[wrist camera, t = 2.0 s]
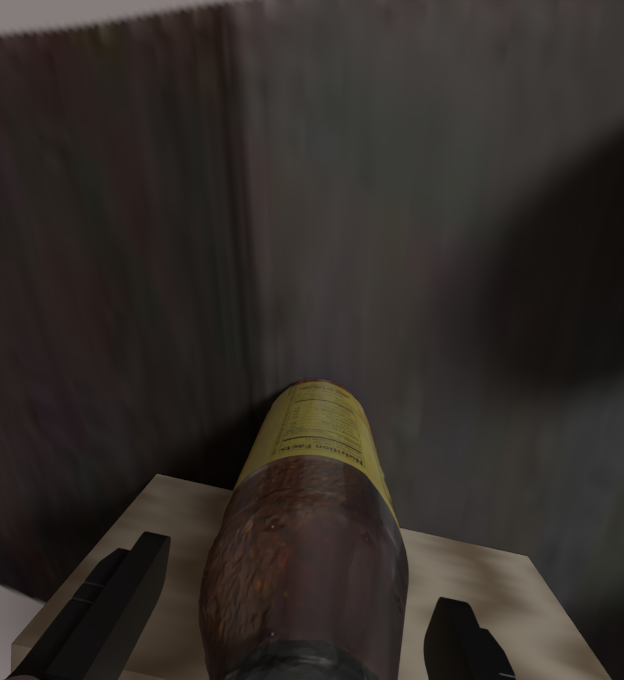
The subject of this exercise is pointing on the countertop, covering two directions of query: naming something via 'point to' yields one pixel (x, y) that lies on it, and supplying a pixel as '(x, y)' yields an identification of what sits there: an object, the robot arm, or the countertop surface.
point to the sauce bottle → (307, 551)
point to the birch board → (423, 593)
